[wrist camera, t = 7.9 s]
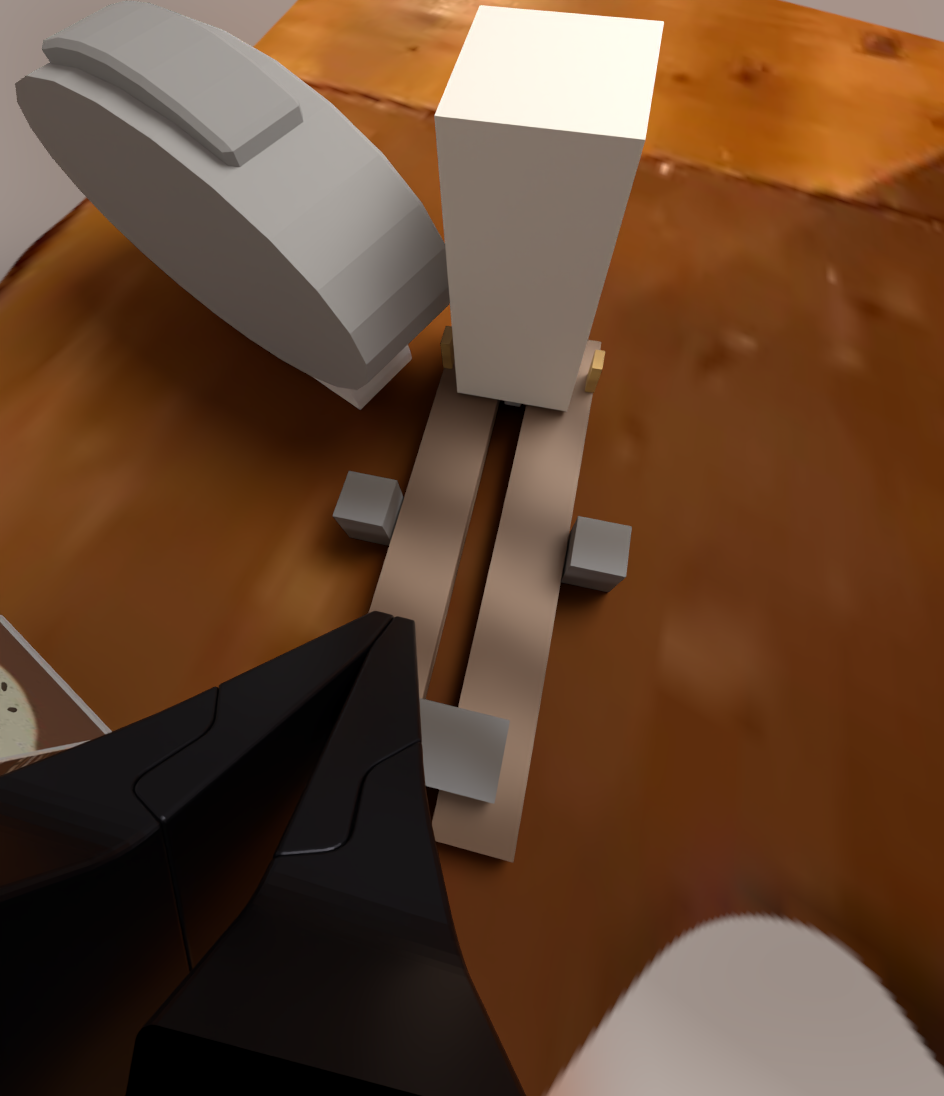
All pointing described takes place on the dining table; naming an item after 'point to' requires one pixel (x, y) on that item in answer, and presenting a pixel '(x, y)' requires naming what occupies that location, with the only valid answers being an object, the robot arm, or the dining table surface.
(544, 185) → the block
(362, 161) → the alarm clock
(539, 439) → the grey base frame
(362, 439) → the dining table surface
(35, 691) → the food container
